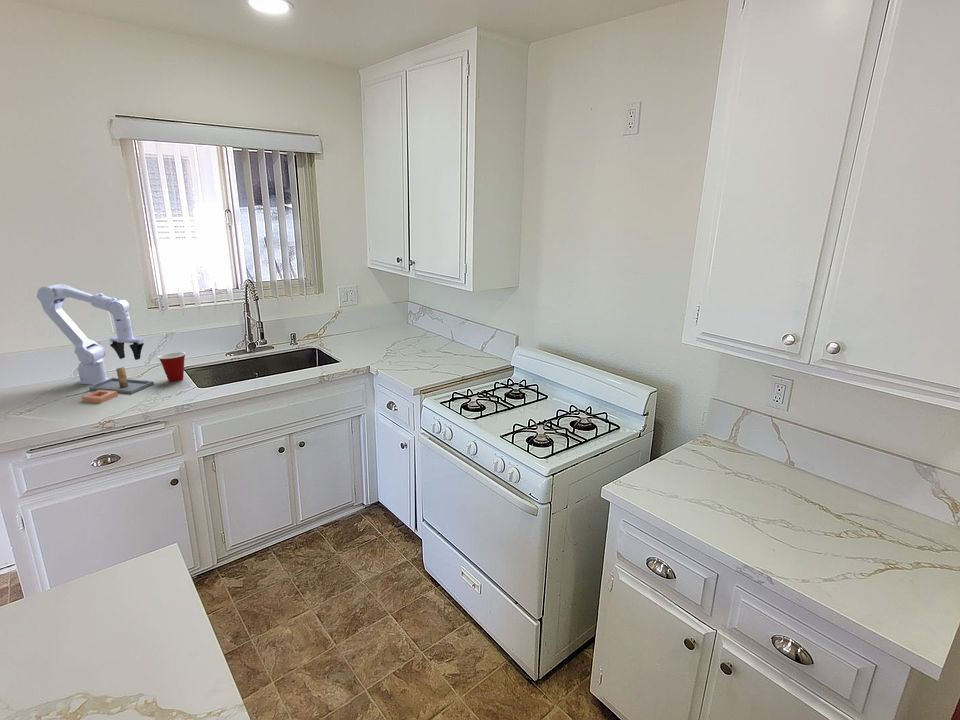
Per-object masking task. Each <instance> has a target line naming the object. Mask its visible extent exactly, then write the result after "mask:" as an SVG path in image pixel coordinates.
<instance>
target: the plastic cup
mask: <svg viewBox="0 0 960 720" xmlns="http://www.w3.org/2000/svg"><path fill="white" fill-rule="evenodd" d="M185 356H186V352H184V351H178V352H177V351H175V352H168V353H163V354H160V355H158V356H157V358H158V359H159V361H160V363H161V365H162V368H163V371H164V373H165V376H166V377H167V381H168V382H170V383H177V382H180V381H183V380H184V372H185V358H186V357H185Z"/></svg>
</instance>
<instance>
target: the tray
mask: <svg viewBox="0 0 960 720" xmlns="http://www.w3.org/2000/svg"><path fill="white" fill-rule="evenodd" d="M109 378H110V379H108V380H105V381H103V382H100V383H98V384H92V385H90V386H89V387H88V389H89V391H94V392H95V391H97V390H109V391H117V393H118V394H126V395H133V394H136V393H137V392H140V391H143V390H145V389H146V388H149V387H151V386H154V385H155V382H154V381H153V380H143V379H133V378H127V381H128V387H124V388H121V387H120V385H119V380H118V377H109Z"/></svg>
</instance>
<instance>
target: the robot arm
mask: <svg viewBox="0 0 960 720" xmlns="http://www.w3.org/2000/svg"><path fill="white" fill-rule="evenodd" d="M67 298H71V299H74V300H78V301H81V302H82V301H83V302H86V303H90V305H91V306H92V307H93V308H97V309H100V310H104V311H107V312H108V313H110V314H111V316H112V318H113V322H114V326H115V332H116V336H111V337H109V339H108V340H109V343H110V347H111V348H112V349H113V350H114V352H115V353H116V355H117V356H118V358H119V360H122V359H125V357H126V353H125V343H126V344H128V347H129V348H130V349H131V351H132V354H133V357H134V360H135V361H138V360H140V359H141V356H142V355H141V354H142V350H143V347H144V345H145V343H144V339H143V338H140V337H136V336H134V332H133V327H132V321H131V317H130V312H129V311H130V310H131V304H130V302H129V301H128V300H126V299H124V298H120V299H117V298H116V297H110V296H107V295H105V293H95V294H92V293H88V292H86V291H83V290H79V289H78V288H74V287H72V286H70V285H68V284H63V283H61V282H60V283H59V282H58V283H57V282H56V283H54V284H51V285H46V286H41V287H40V288H38V290H37V294H36V299H37V300H38V301H39V302H40V304H41V307H42V309H43V312H44V313H45V314H46V315H47V316H48V317H49V318H50V319H51V321H52V322H53V323H54V324H55V325H56V326H57V327H58V329H60V331H61V332H62V333H63V334H64V336H66V338H67V339H68V340H69V341H70V342H71V343H72V344H73V346H74V353H75V354H76V357H77V359H78V361H79V362H80V363H79V364H78V366H77V371H78V376H79V380H80V381H79V382H78V384H82V385H95V384H98V383H100V382H103V381H105V380H108V379H110V378H111V377H108V375H107V369H106V366H105V361H104V357H105V356H106V353H107V352H106V349H105V347H104V346H102V345H101V344H99V343H97V342H96V341H95V340H93V339H89V338H88V337H87V336H86V334H85V333H84V332H83V330H81V329H80V328H79V326H78V325H77V324H76V323H75V322H74V321H73V319H71V317H70V316H69V314H67V313H66V312H65V311H64V309H63V302H64V301H65V300H66V299H67Z"/></svg>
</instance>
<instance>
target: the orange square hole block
mask: <svg viewBox="0 0 960 720" xmlns="http://www.w3.org/2000/svg"><path fill="white" fill-rule="evenodd" d="M116 397H119V393H117V391H109V390H97V391H95V390H94V391H92V392H90V393H87V394H85V395H83V396H81V400H82V402H84V403H95V404H103V403H105V402H107V401H109V400H112V399H113V398H116Z"/></svg>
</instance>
